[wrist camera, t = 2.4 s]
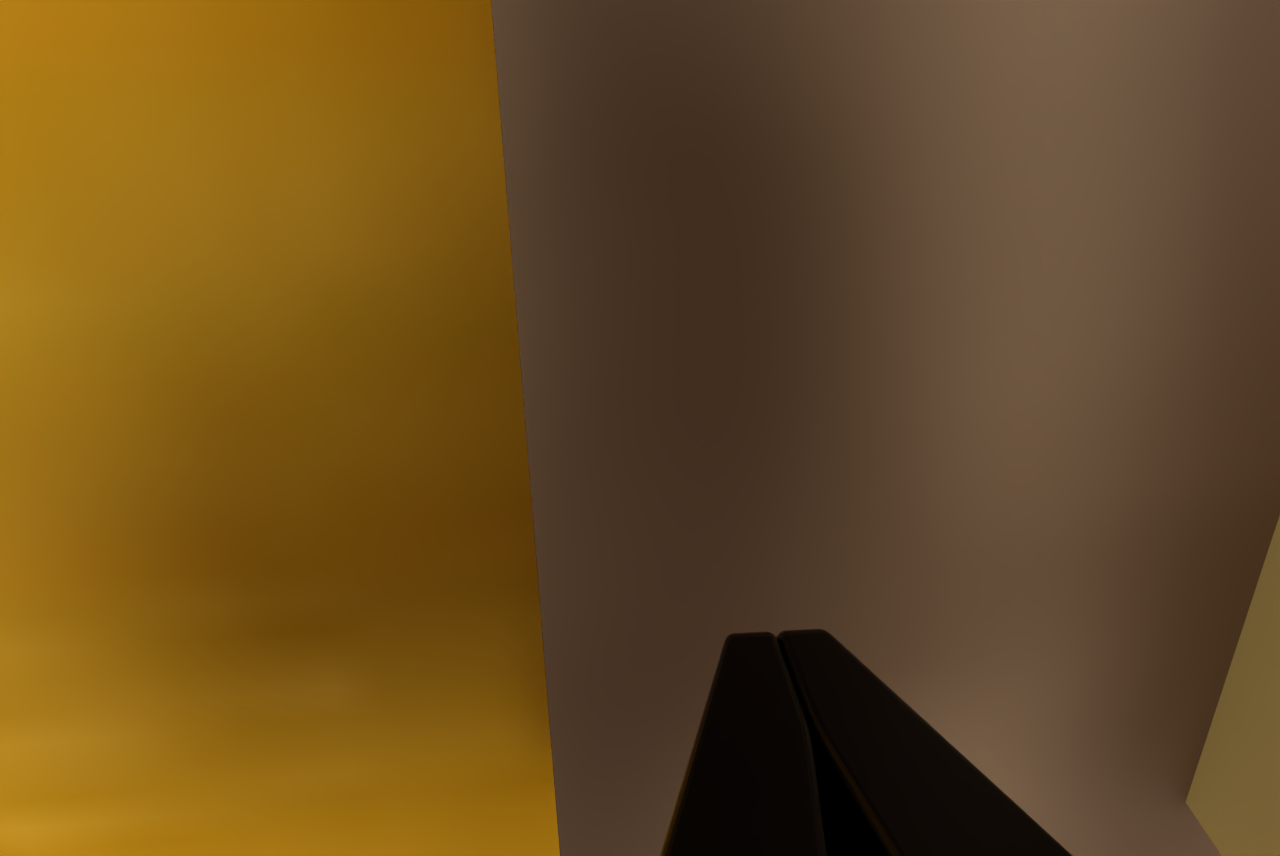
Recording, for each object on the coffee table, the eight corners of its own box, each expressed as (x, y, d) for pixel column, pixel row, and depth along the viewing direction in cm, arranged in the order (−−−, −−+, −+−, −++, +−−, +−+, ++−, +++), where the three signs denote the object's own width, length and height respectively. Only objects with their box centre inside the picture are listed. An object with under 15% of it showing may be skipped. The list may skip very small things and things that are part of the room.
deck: (1922, -245, 12) (2516, -300, 8) (1471, 695, 18) (1688, 890, 15) (501, -222, 11) (469, -273, 7) (568, 749, 17) (569, 968, 14)
